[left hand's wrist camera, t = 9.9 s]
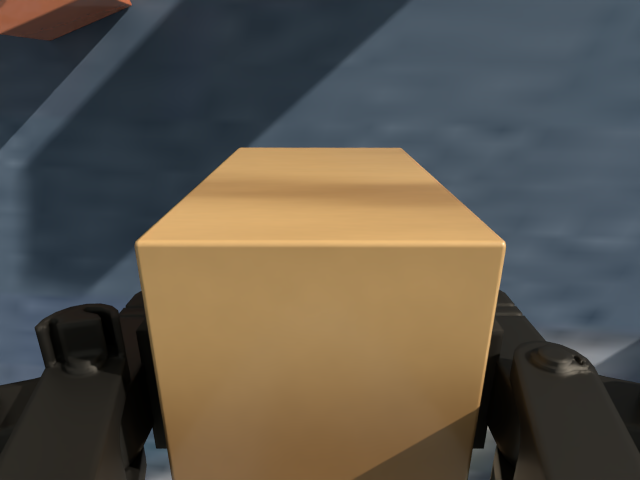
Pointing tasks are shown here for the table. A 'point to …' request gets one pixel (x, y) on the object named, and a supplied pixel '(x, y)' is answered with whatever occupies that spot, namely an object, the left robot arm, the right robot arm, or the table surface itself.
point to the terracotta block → (53, 16)
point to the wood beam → (320, 319)
